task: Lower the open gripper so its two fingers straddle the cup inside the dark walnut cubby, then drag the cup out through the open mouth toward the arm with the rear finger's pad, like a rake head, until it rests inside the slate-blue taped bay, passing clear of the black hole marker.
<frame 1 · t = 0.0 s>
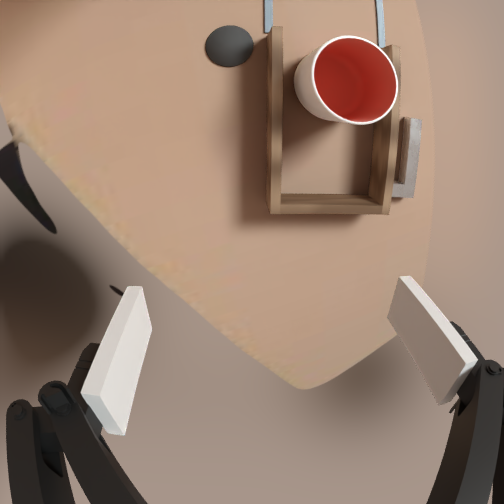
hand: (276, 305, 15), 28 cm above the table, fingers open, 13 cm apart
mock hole: (229, 45, 31), on the table
cubby: (327, 121, 36), on the table
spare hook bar: (406, 156, 39), on the table
cup: (328, 85, 34), on the table
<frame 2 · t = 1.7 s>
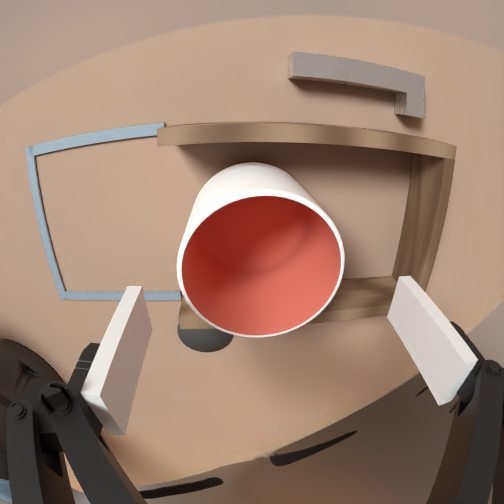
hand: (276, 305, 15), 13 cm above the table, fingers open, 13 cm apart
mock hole: (205, 331, 32), on the table
cubby: (307, 215, 27), on the table
bay: (100, 223, 25), on the table
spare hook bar: (356, 75, 21), on the table
cup: (250, 215, 26), on the table
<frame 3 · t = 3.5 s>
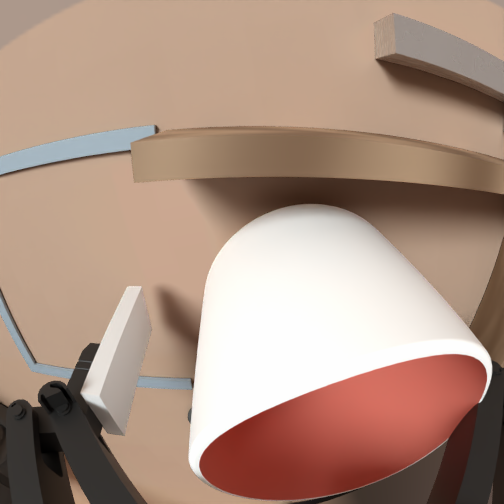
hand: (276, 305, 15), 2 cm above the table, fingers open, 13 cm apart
cubby: (385, 280, 16), on the table
bay: (64, 288, 15), on the table
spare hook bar: (464, 69, 11), on the table
cup: (299, 283, 16), on the table, touching gripper
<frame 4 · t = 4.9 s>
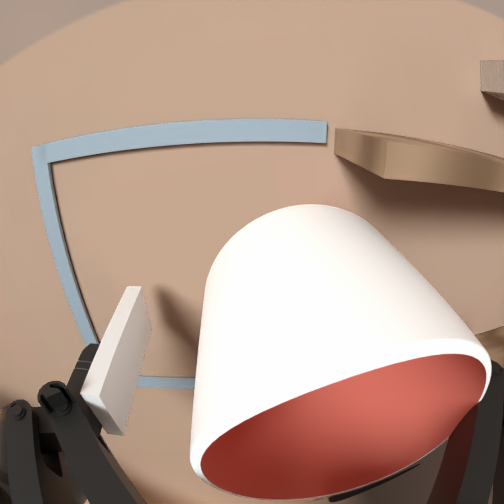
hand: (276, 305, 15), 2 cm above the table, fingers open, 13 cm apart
cubby: (470, 270, 17), on the table
bay: (183, 288, 16), on the table
cup: (299, 283, 16), on the table, touching gripper
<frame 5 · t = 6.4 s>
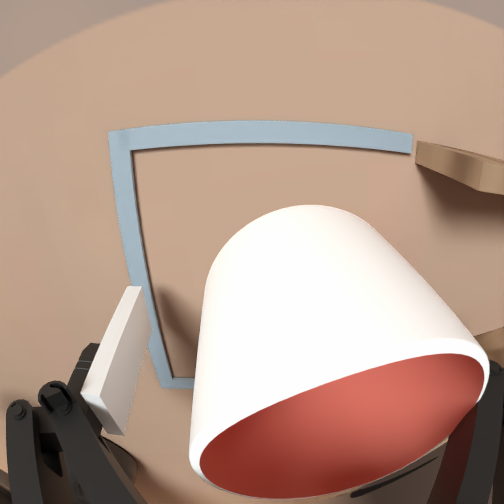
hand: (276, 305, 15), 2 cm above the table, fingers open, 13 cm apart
bay: (270, 286, 16), on the table
cup: (298, 284, 16), on the table, touching gripper
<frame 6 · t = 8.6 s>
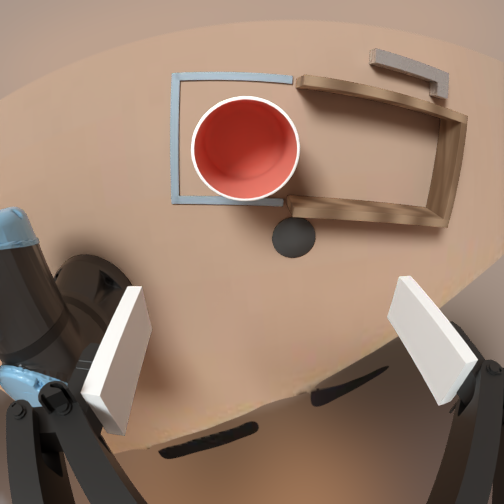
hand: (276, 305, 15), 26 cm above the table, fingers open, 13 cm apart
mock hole: (293, 237, 41), on the table
cubby: (375, 152, 36), on the table
bay: (230, 138, 35), on the table
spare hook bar: (407, 68, 30), on the table
cup: (243, 139, 35), on the table
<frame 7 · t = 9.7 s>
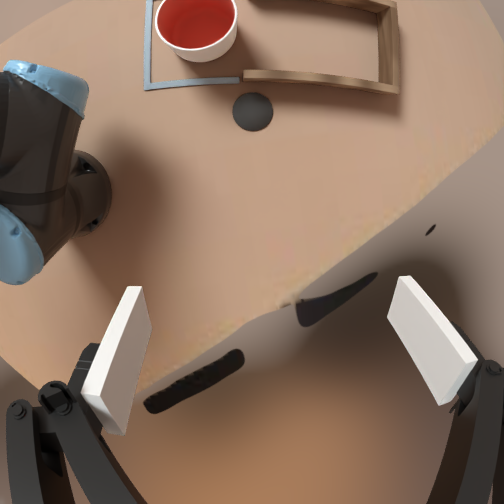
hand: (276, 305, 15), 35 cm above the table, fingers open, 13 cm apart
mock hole: (252, 111, 41), on the table
cubby: (318, 37, 36), on the table
bay: (192, 34, 35), on the table
cup: (203, 34, 35), on the table
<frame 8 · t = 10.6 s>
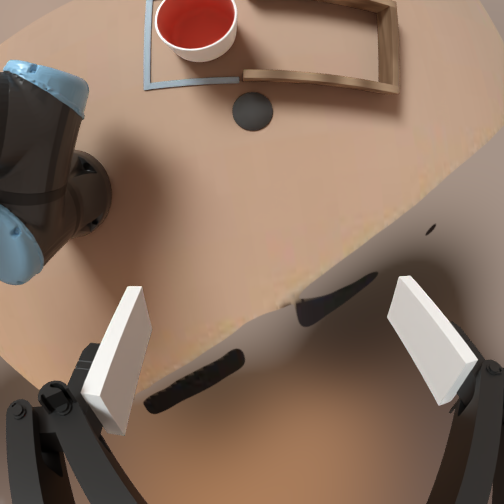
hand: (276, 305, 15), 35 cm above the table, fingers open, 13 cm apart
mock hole: (252, 111, 41), on the table
cubby: (318, 37, 36), on the table
bay: (192, 34, 35), on the table
cup: (203, 34, 35), on the table
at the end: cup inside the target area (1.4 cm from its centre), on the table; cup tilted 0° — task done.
